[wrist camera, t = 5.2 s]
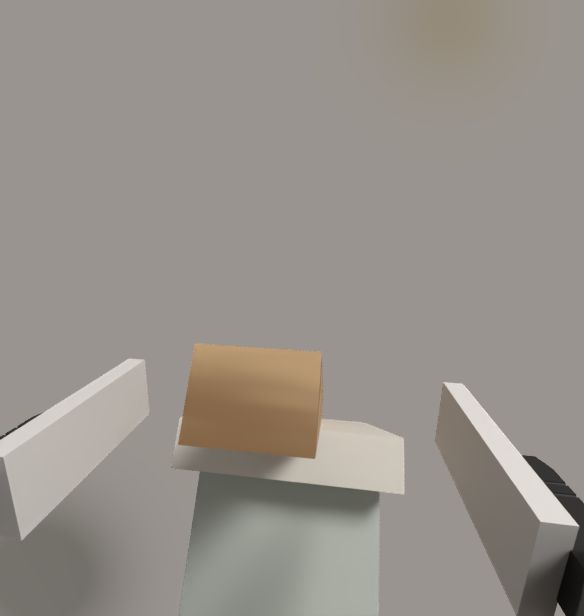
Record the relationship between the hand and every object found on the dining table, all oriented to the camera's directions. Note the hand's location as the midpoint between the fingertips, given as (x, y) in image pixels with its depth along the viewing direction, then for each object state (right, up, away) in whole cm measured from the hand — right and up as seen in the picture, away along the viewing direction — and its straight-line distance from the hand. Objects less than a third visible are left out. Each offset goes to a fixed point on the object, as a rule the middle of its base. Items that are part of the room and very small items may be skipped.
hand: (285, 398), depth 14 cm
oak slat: (0, -4, +9) cm, 10 cm away
